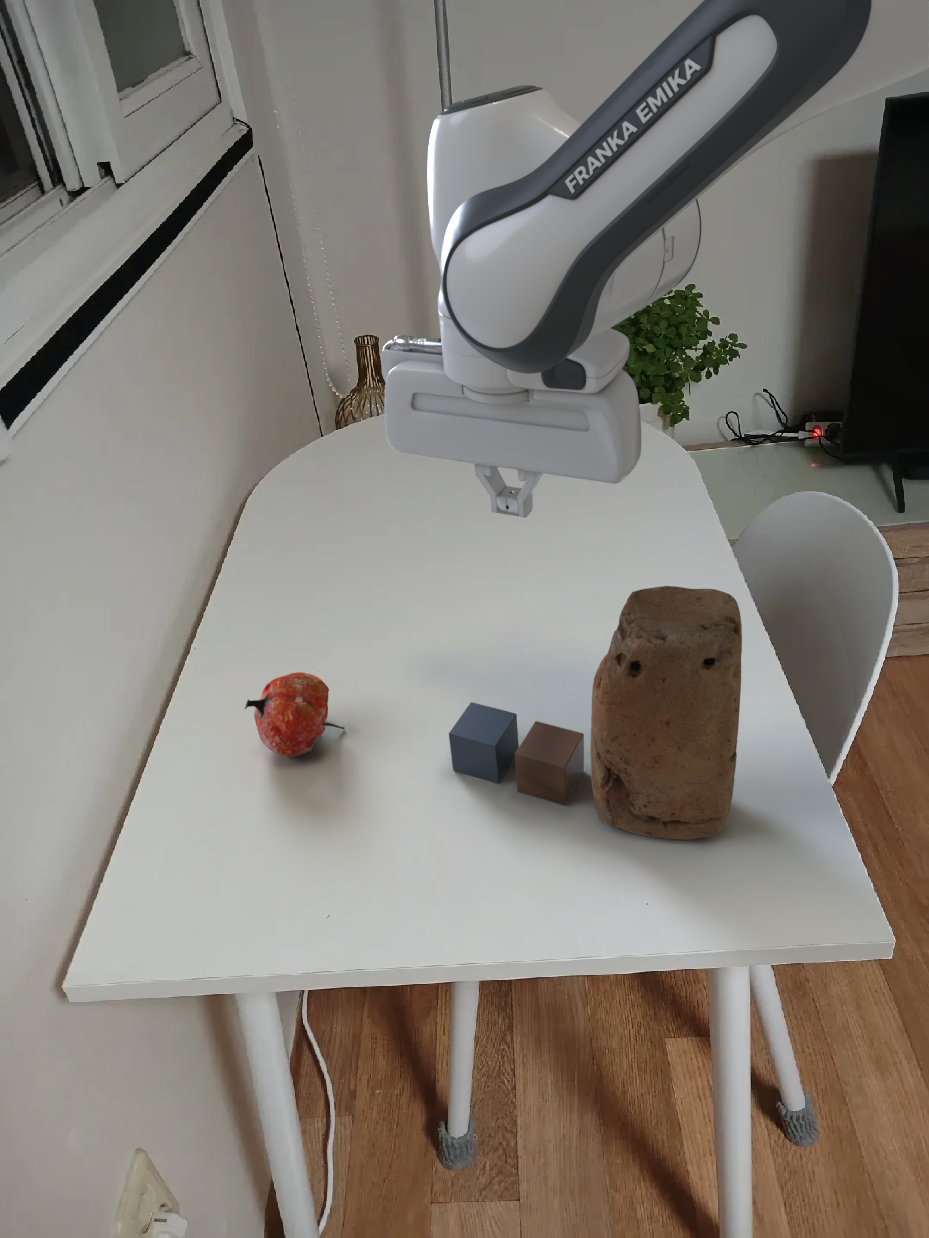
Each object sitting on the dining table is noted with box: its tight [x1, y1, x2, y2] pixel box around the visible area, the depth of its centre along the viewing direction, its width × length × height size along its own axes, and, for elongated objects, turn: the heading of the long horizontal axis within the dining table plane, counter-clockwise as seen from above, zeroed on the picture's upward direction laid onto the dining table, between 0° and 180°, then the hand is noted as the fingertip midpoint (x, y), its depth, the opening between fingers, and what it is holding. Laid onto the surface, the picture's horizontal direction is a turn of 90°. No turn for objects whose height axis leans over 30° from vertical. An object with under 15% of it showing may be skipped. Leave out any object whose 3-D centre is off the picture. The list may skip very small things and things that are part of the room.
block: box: [590, 585, 743, 840], centre depth 72 cm, size 11×8×20 cm
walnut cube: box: [514, 720, 585, 807], centre depth 80 cm, size 4×4×4 cm
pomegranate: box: [244, 671, 346, 758], centre depth 86 cm, size 7×7×10 cm
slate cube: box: [448, 701, 520, 784], centre depth 83 cm, size 4×4×4 cm
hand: (512, 512), depth 77 cm, fingers closed
